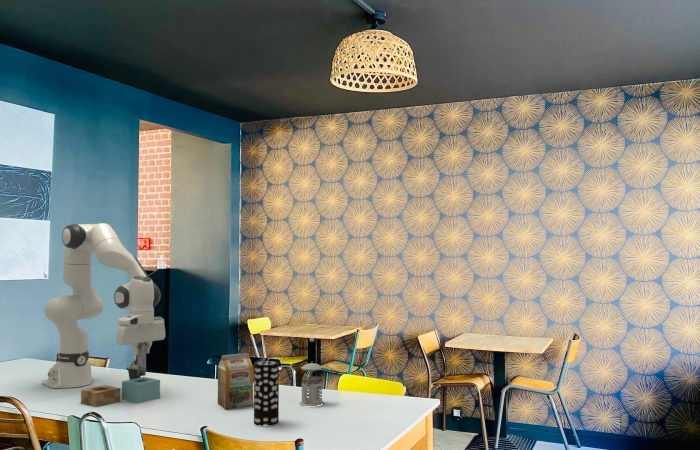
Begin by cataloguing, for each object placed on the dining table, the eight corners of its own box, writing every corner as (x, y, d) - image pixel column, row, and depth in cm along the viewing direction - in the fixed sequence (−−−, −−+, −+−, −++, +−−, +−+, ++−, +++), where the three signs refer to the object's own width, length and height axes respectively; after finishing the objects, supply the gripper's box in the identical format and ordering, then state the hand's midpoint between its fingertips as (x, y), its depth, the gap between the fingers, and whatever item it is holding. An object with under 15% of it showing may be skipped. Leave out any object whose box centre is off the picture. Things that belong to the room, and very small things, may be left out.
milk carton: (225, 410, 223) (225, 357, 224) (217, 403, 233) (218, 353, 233) (253, 406, 228) (253, 355, 229) (244, 400, 237) (244, 351, 238)
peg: (135, 375, 236) (136, 344, 236) (142, 374, 238) (142, 343, 239) (140, 376, 234) (140, 344, 235) (147, 374, 236) (147, 343, 237)
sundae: (137, 394, 247) (138, 357, 248) (122, 394, 248) (123, 356, 249) (146, 391, 253) (146, 354, 254) (131, 390, 255) (132, 354, 255)
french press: (328, 401, 235) (328, 336, 236) (317, 409, 224) (317, 340, 225) (305, 399, 238) (305, 335, 239) (292, 406, 227) (292, 339, 228)
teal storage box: (121, 402, 235) (122, 381, 235) (143, 397, 243) (144, 377, 243) (137, 406, 229) (138, 384, 229) (159, 400, 237) (160, 379, 237)
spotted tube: (254, 419, 210) (255, 361, 211) (278, 418, 211) (279, 360, 212) (252, 426, 202) (253, 365, 203) (278, 425, 203) (278, 365, 203)
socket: (80, 405, 229) (81, 389, 230) (104, 400, 237) (105, 384, 238) (96, 409, 224) (96, 393, 224) (120, 404, 232) (120, 388, 232)
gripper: (158, 315, 248) (158, 349, 247) (114, 320, 231) (113, 357, 230) (169, 316, 244) (168, 351, 243) (124, 321, 227) (123, 358, 226)
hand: (141, 354), depth 237 cm, fingers closed on peg, 3 cm apart
